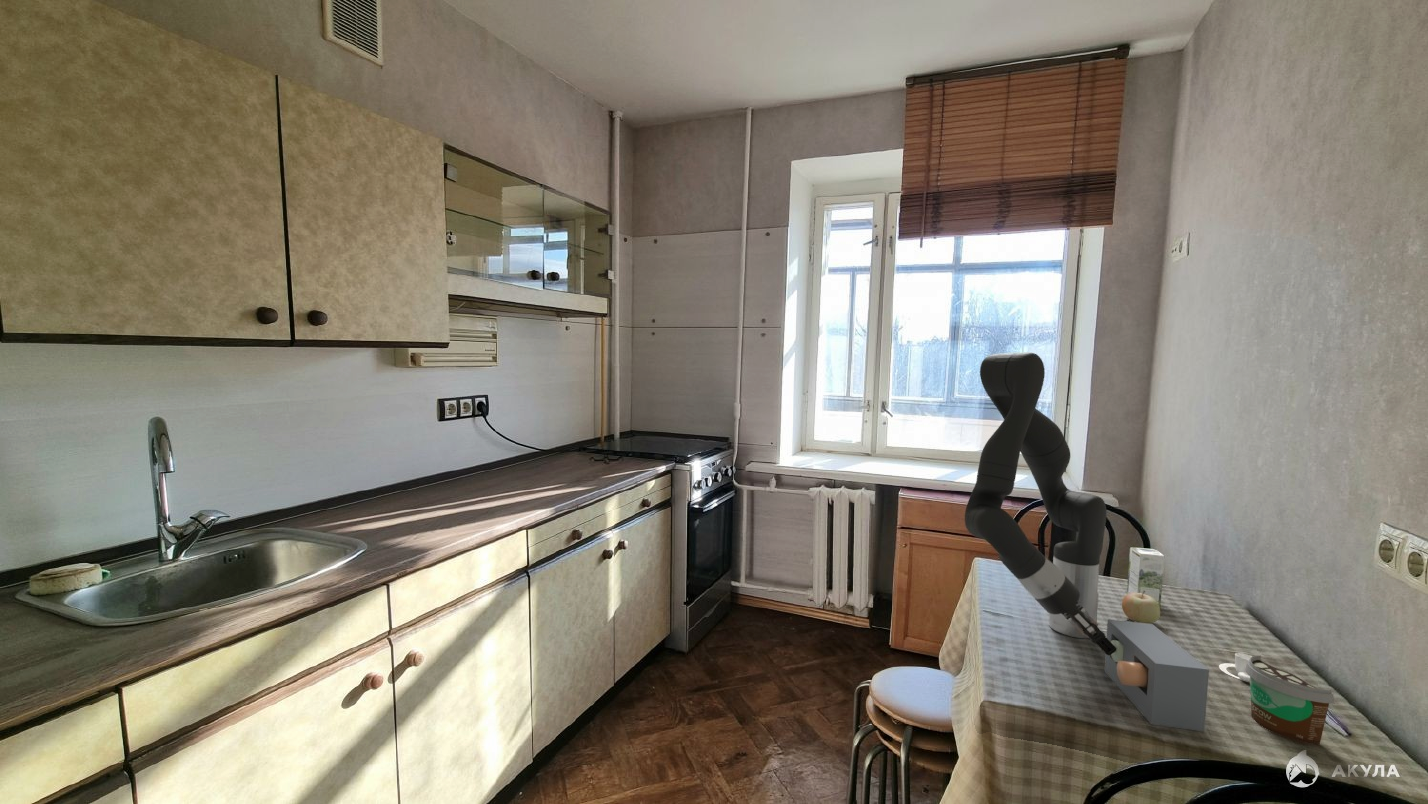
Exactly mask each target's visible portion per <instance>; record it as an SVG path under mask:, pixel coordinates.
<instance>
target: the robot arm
mask: <svg viewBox="0 0 1428 804" xmlns="http://www.w3.org/2000/svg"><path fill="white" fill-rule="evenodd" d="M1045 374H1046V373H1045V365H1044V362H1043V360H1042V358H1041V356H1039V355H1038V354H1037V353H1034V352H1006V353H994V354H990V355H988V356H986V357H984V358H983V360H982V361H981V364H980V368H979V378H980V381H981V384H982V387H983V389H984V391H985V393H986V395H987V396H988V398H989V399H990V401H991V402H992V403H993V405H994V406H995V408H996V409H997V411H998V413H1000V416H1001V418H1002V419H1003V421H1002V422H1001V424H1000V425H999V426H998V427H997V428H996V430H995V431H994V432H993V434H992V435H991V436H990V438H989V439H988V440H987V441H986V442H985V444H984V446H983V448H982V451H981V454H980V459H979V465H978V469H977V475H976V480H975V481H976V482H975V485H974V487H973V490H972V491H971V494H970V496H969V499H968V501H967V504H966V508H965V510H964V525H965V527H966V530H967V531H968V532H969V534H971V535H972V536H974V537H976V538H979V539H982V540H985V541H986V542H988V544H989V545H990V546H991V547H992V548H993V549H994V550H995V551H996V552H997V554H998V558H999V560H1000V562H1001V563H1002V564H1003V565H1004V566H1005V568H1007V569H1008V571H1010V573H1011V574H1012V575H1013V576H1014V577H1015V578H1016V579H1017V580H1018V581H1019V582H1020V585H1021V586H1022V587H1023V588H1024V589H1025V590H1026V591H1027V592H1028V593H1029V594H1030V595H1031V596H1032V598H1033V599H1034V600H1035V601H1036V602H1037V603H1038V604H1039V605H1040V606H1041V607H1042V608H1043V609H1044V610H1045V611H1046V612H1047V613H1048V614H1049V622H1048V623H1049V627H1050V628H1051V629H1053V630H1054V631H1055V632H1057V633H1059V634H1062V635H1065V636H1069V637H1073V638H1077V639H1089V640H1090V641H1091V642H1092V643H1094V644H1096V645H1097V646H1098V647H1099V649H1101V650H1102V651H1103V652H1104V653H1106V654H1107V655H1111V654H1112V653H1114V652H1115V651H1116V647H1115V646H1114V645H1113V644H1112V643H1111V642H1110V641H1109V640H1108V639H1107V638H1106V637H1107V635H1106V634H1105V633H1104V631H1102V630H1101V629H1100V628H1099V624H1098V623H1097V622H1098V605H1099V592H1098V591H1099V576H1100V575H1099V573H1100V561H1101V559H1100V558H1101V555H1102V551H1103V547H1104V537H1105V529H1106V523H1107V506H1106V502H1105V500H1104V499H1103V498H1102V497H1100V496H1097V495H1095V494H1090V493H1086V492H1080V491H1075V490H1072V489H1069V488H1068V487H1067V486H1066V484H1065V482H1064V481H1063V475H1064V473H1065V472H1066V470H1067V468H1068V466H1069V464H1070V461H1071V449H1070V447H1069V445H1068V443H1067V440H1066V438H1065V436H1064V434H1063V432H1062V430H1061V428H1060V427H1059V426H1058V424H1056V423H1055V422H1054V421H1053V420H1052V419H1050V418H1049V417H1048V416H1047V415H1046V414H1044V413H1042V411H1040V410H1038V408H1036V407H1037V404H1038V402H1039V398H1040V395H1041V393H1042V389H1043V385H1044V381H1045ZM1020 455H1021V456H1022V457H1023V460H1024V461H1025V463H1026V465H1027V466H1028V469H1029V470H1030V472H1031V474H1032V477H1033V479H1034V481H1035V483H1036V487H1038V491H1039V494H1040V497H1041V499H1042V502H1043V504H1044V508H1045V511H1046V514H1047V515H1048V517H1049V520H1050V522H1051V523H1052V524H1054V525H1055V526H1057V527H1060V528H1063V529H1065V530H1068V531H1069V530H1070V531H1073V532H1077V533H1078V534H1077V537H1076V540H1074V541H1062V542H1058V543H1055V545H1054V546H1053V558H1052V560H1053V561H1051V560H1050V559H1048V558H1047V557H1046V556H1045V554H1043V553H1042V552H1041V551H1040V550H1039V549H1038V548H1037V547H1036V546H1035V545H1034V543H1032V542H1031V541H1030V540H1029V539H1028V537H1027V536H1026V534H1025V532H1024V531H1023V529H1022V528H1021V527H1020V525H1019V524H1018V522H1017V521H1016V520H1015V518H1013V516H1012V515H1010V514H1009V513H1008V512H1007V511H1006V510H1004V509H1003V508H1002V506H1003V502H1004V500H1005V498H1007V496H1010V495H1011V494H1012V493H1013V491H1014V486H1015V481H1016V475H1017V470H1018V465H1019V459H1020Z"/></svg>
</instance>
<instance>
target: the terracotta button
mask: <svg viewBox="0 0 1428 804" xmlns="http://www.w3.org/2000/svg"><path fill="white" fill-rule="evenodd" d="M1148 671H1149V668H1148V667H1147V666H1145V665H1144V664H1143V663H1136V662H1127V661H1119V662H1118V663H1117V675H1118V678H1119V680H1120V682H1121V683H1122V684H1123V685H1131V686H1139V687H1147V685H1148Z"/></svg>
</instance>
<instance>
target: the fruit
mask: <svg viewBox="0 0 1428 804" xmlns="http://www.w3.org/2000/svg"><path fill="white" fill-rule="evenodd" d="M1144 593H1145V591H1144V590H1143V594H1142V593H1130V594H1127V593H1126V595H1125V596H1123V598H1122V601H1121V607H1122V612H1123V613H1124V615H1125V616H1126V617H1127V618H1128V619H1129V620H1130V621H1131V622H1138V623H1148V624H1154V623H1157V621H1158V620H1159V618H1160V617H1161V606H1160V607H1159V604H1158V603H1157V601H1156V600H1155V599H1154V598H1152V597H1150V596H1148V595H1145V594H1144Z"/></svg>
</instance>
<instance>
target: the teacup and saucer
mask: <svg viewBox="0 0 1428 804" xmlns="http://www.w3.org/2000/svg"><path fill="white" fill-rule="evenodd" d="M1251 657H1253V655H1250V654H1247V653H1242V652H1235V653H1234V663H1229V662H1228V663H1225V662H1224V663H1220V664H1219V665H1218V668H1219V670H1221V671H1222V673H1224V674H1226V675H1228V676H1230V677H1232V678H1234V679H1237V680H1240V681H1243V682H1247V683H1250V676H1249V675H1248V674H1247V673H1246V671H1245V667H1246V665H1247V662H1248V661H1249V660H1250V658H1251ZM1227 668H1235V671H1236V674H1237V676H1236V675H1234V674H1232V673H1231V672H1229V671H1228V670H1227Z"/></svg>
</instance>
